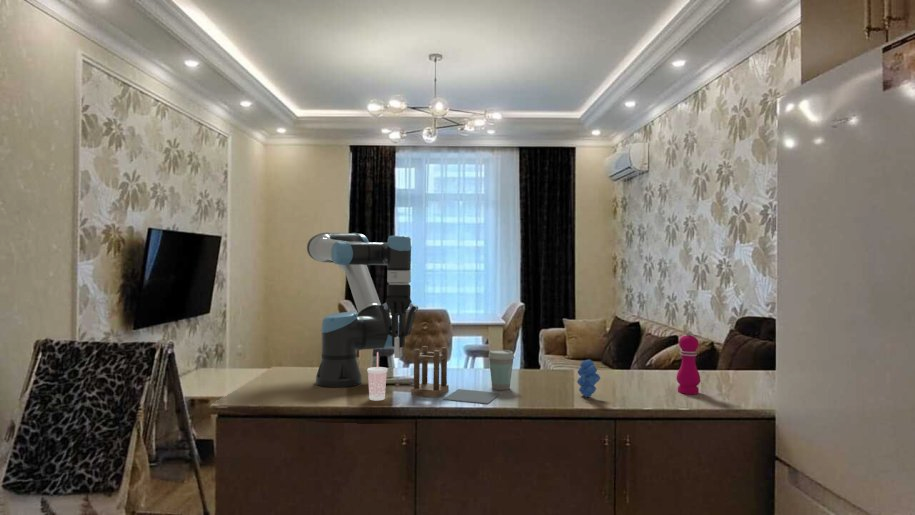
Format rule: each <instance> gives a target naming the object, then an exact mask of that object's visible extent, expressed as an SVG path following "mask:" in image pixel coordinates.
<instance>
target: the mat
mask: <svg viewBox="0 0 915 515" xmlns="http://www.w3.org/2000/svg"><path fill="white" fill-rule="evenodd" d="M500 395H501V392H495V391H484V390H483V391H482V390H473V389H472V390H471V389H464V388H463V389H461V388H459V389H457V390H455V391H453V392H451V393H450V394H449V395H447V396H445V397H444V398H442V400H443V401H452V402H462V403H471V404H482V405H489V404H490V403H492V402H493V401H494V400H495V399H496V398H497V397H498V396H500Z"/></svg>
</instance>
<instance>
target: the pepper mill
mask: <svg viewBox="0 0 915 515" xmlns="http://www.w3.org/2000/svg"><path fill="white" fill-rule="evenodd" d="M692 334H693V333H692V331H691V330H687V331H685V335H683V336H681V337H680V339H679V340H678V345H679V348H680V355H681V365H680V367H679V369H678V371H677V373H676V378H675V379H676V381H677V383H678V384H679V385H678V386H677V392H678V393H679V392H681V393H680V394H683V393H685V394H684V395H691V394H694V395H698V394H699V390H700V389H699V386H698V385H699V384H700V383H701V376H700V373H699V371H698V367H697V364H696V356H698V354H697V353H698V351H697V349H698V348H699V346H700V343H699V339H698V338H697V337H696V336H694V335H692ZM697 393H698V394H697Z"/></svg>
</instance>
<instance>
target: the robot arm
mask: <svg viewBox="0 0 915 515" xmlns="http://www.w3.org/2000/svg"><path fill="white" fill-rule="evenodd" d="M411 242H412V240H411V238H410V236H408V235H389V236H388V238H387V242H383V241H382V242H377V241H375V242H371V241H369V239H368V237H367V236H366V235H364V234H362V233H357V232H351V233H349V232H348V233H347V232H345V233H344V232H321V233H317V234H315V235H313V236H312V237H311V238H310V239H309V240H308V242H307V244H306V251H307V254H308V256H309V257H310V258H311V259H312V260H314V261H317V262H321V263H333V264H334V265H338V267H339V268H340V270H341V271H343V272H344V273H345V276H346V280H347V281H348V285H349V288H350V290H351V294H352V297H353V301H354V304H355V306H356V310H357V312H356V311H355V312H354V311H347V312H345V311H344V312H338V313H332V314H328V315H326V316H325V317H323V319H322V322H321V329H320V330H321V331H320V332H321V361H320V363H319V366H318V370H317V373H316V376H315V384H316V385H318V386H320V387H325V388H326V387H328V388H344V387H346V388H347V387H352V386H353V387H354V386H358V385H360V384H362V381H363V380H362V373H361V370H360V366H359V363H358V357H357V356H358V355H357V352H358V351H364V350H379V349H380V350H381V349H382V350H383V349H389V348H394V356H393V358H395V359H401V358H402V357H403V348H405V345H406V342H405V340H406V337H407V336H410V335H411V333H412V328H413V324H414V320H415V315H416V313H417V311H418V309H419V306H418V305H415V304H414V303H412V298H411V285H410V284H411V282H412V280H411V279H412V276H411V275H412V274H411V273H412V272H411V271H412V269H411V268H412V266H411V265H412V262H411V261H412V243H411ZM369 266H387V267H386V268H387V269H386V271H387V274H386V276H387V280H386V281H387V283H388V284H387V285H386V296H387V297H386V300H385V303H383V304H381V301H380V299H379V295H378V293H377V289H376V287H375V284H374V280H373V279H372V277H371V273H370V270H369V268H368V267H369ZM408 309H409V311H408ZM389 310H390V311H389ZM407 311H408V315H407ZM406 315H407V319H406Z"/></svg>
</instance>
